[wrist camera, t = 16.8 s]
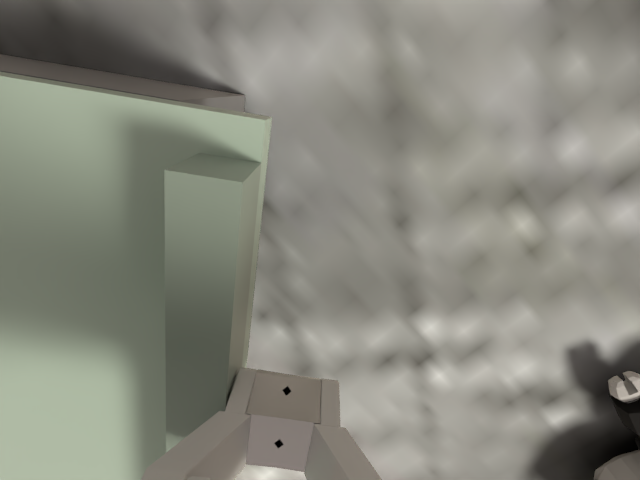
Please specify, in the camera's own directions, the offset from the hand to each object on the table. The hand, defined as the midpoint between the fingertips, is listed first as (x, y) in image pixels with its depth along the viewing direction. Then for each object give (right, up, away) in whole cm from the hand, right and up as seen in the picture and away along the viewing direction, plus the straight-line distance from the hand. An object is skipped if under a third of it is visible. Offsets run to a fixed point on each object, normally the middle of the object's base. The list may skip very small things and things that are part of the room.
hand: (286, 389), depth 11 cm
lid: (-9, +2, +1) cm, 9 cm away
